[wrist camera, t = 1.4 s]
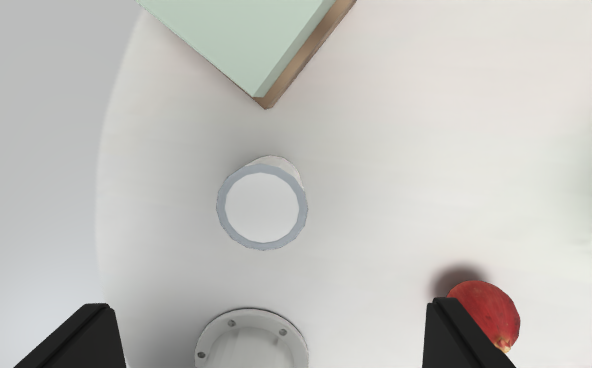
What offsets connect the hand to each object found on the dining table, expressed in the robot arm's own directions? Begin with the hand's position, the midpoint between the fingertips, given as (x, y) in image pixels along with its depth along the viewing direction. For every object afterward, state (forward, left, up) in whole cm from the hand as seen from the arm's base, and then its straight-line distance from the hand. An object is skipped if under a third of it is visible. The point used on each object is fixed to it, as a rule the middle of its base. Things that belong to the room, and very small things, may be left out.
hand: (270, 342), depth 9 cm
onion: (+2, -21, -21) cm, 30 cm away
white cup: (-2, +1, -21) cm, 21 cm away
